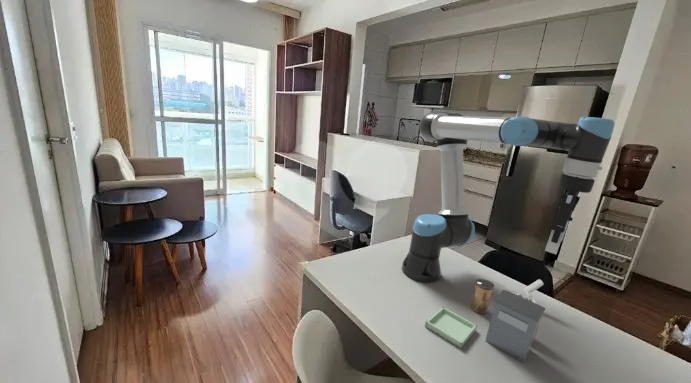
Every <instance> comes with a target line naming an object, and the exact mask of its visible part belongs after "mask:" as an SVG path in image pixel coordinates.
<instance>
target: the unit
mask: <svg viewBox="0 0 691 383" xmlns="http://www.w3.org/2000/svg"><path fill="white" fill-rule="evenodd" d="M494 303H495V304H494V307H493V311H492V315H491V318H490V322H489V326H488V329H487V332H486V336H485V341H484V342H487V343H488V344H491V345H492V346H494V347H496V348H497V349H499V350H500V351H503V352H504V353H506V354H508V355H510V356H511V357H513V358H515V359H517V360H518V361H520V362H522V363H523V364H524V363H525V361H526V359H527V357H528V356H529V353H530V351H531V348H532V346H533V342H534V341H535V339H534V337H535V338H536V336H535V334H536V335H537V333H536V331H537V332H538V330H537V328H538V329H539V327H538V325H539V326H540V321H541V318H542V317H543V315H544V313H545V310H546V307H544V306H542V305H540V304H538V303H537V302H536V303H533V302H531V301H529V300H527V299H524V298H522V297H520V296H518V295H516V294H515V293H513V292H510V291H509V290H506V289H502V291H500V293H499V294H498V295H497V297H496V298H495V299H494ZM533 340H534V341H533Z"/></svg>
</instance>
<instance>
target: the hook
mask: <svg viewBox="0 0 691 383" xmlns="http://www.w3.org/2000/svg"><path fill="white" fill-rule="evenodd" d="M544 285H545V284H544V282H543V280H541V279H540V278H539V279H536V281H534V282H532V283H530V284H529V285H527V286H526V287H525V288H524V289H522V290H521V291H520V293H517V294H515V295H518V296H520V297H522V298H524V299H527V300H529V301H531V302H533V303H536V304H537V301H536V300H535V299H534V298H533V295H532V293H533V292H535V291H537V290H538V289H539V288H541V287H542V286H544Z"/></svg>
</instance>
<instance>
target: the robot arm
mask: <svg viewBox="0 0 691 383" xmlns="http://www.w3.org/2000/svg"><path fill="white" fill-rule="evenodd" d="M615 124H616V123H615V122H614V120H613V119H610V118H605V117H604V118H603V117H602V118H601V117H594V116H592V117H591V116H582V117H580V118H579V120H578V121H577V123H570V122H561V121H552V120H545V119H536V118H531V117H528V116H527V117H526V116H514V117H510V116H509V117H508V116H507V117H505V116H503V117H502V116H472V115H471V116H470V115H469V116H466V115H465V114H462V113H459V112H448V111H447V112H446V111H440V110H433V111H429V112H427V113H425V115H423V116H422V118H421V120H420V121H419V125H418V126H419V128H418V129H419V132H420V134H421V136H422V137H423V138H424V139H426V140H428V141H431V142H436V148H437V150H439V151H440V173H441V175H440V176H441V178H440V179H441V180H440V181H441V182H440V184H441V209H440V211H438V214H430V213H423V214H421V215H418V216H417V217H415V220H414V224H413V225H412V232H411V234H412V235H411V239H410V245H409V250H408V253H407V254H406V256H405V257H404V260H403V261H402V266H401V270H402V273H403V274H405V275H406V276H407V277H408V278H411V279H412V280H415V281H418V282H421V283H434V282H437V281H439V280H440V278H441V273H442V269H441V264H440V255H441V251H442V249H444V248H450V247H451V248H452V247H460V246H463V245H466V244H468V243H470V242H471V241H472V240H473V238H474V237H475V234H476V232H475V231H476V228H475V223H474V222H473V221H472V219H471V218H470V217H469V212H468V211H467V210H465V192H464V191H465V188H464V180H465V179H464V177H465V176H464V150H465V148H466V147H467V146H468V141H475V142H484V143H485V142H486V143H494V144H503V145H504V144H505V145H511V146H513V147H515V146H516V147H532V148H533V147H536V148H545V149H546V148H548V149H553V150H560V151H561V150H562V151H566V152H568V153H567V156H566V158H565V161H564V164H563V168H562V172H563V173H562V174H560V177H559V180H558V182H557V186H558V187H559V188H561V189H565V190H566V193H562V195H561V197H560V203H559V205H558V209H559V210H558V213H557V215H556V217H555V221H554V222H553V223H554V224H553V225H550V226H549V228H548V229H549V230H551V232H550V234H549V238H548V240H547V242H546V246H545V249H544V251H545V252H548V253H550V254H552V255H553V254H554V255H557V253H558V251H559V247H560V245H561V243H562V242H563V240H564V237H565V234H566V231H567V228H568V225H569V222H573V217H572V213H574V211H575V209H576V207H577V205H578V204H579V202H580V199H581V196H578V195H579V194H580V193H584V194H586V193H587V194H589V193H591V192H592V190H593V187H594V184H595V179H594V178H596V177H597V175H598V173H599V171H603V166H601V164H602V162H603V158H604V156H605V154H606V151H607V148H608V146H609V143H610V141H611V140H612V135H613V132H614V127H615Z"/></svg>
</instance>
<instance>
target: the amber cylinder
mask: <svg viewBox="0 0 691 383" xmlns="http://www.w3.org/2000/svg"><path fill="white" fill-rule="evenodd" d="M494 288H495V285H494V283H492V282H491V281H490V280H488V279H486V278H477V279H476V281H475V287H474V290H473V294H472V299H471V302H470V310H472V311H473V312H474V313H476V314H479V315H485V314H486V313H487V312H488V308H489V304H490V299H491V297H492V292H493V290H494Z"/></svg>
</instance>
